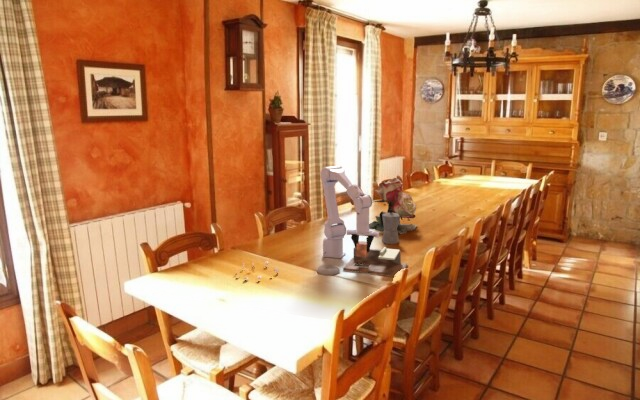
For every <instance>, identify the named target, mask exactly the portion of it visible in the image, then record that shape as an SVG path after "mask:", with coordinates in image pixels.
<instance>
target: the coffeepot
mask: <svg viewBox="0 0 640 400" xmlns="http://www.w3.org/2000/svg"><path fill="white" fill-rule="evenodd" d="M379 216H380V220H381V224H382V226H383V227H384V231H382V232H383V233H382V236H381V242H382V243H383V244H385V245H396V244H399V242H400V239H399V233H398V231H397V227H398V223H399V219H400V220H401V217H400V215H399V214H397V213H392V209H390V213H387V212H386V211H380V213H379Z"/></svg>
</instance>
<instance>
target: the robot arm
mask: <svg viewBox="0 0 640 400" xmlns="http://www.w3.org/2000/svg"><path fill="white" fill-rule="evenodd" d="M320 180H321V185H322V187H323V193H324V199H325V200H324V201H325V207H326V212H327V213H326V214H327V220H326V221H325V222H324V224H323V225H324V230H323V231H324V232H323V233H324V236H325V237H323V241H322V257H324V258H332V259H333V258H334V259H342V258H343V257H344V255H346V252H343V251H344V246H343V245H344V242H343V241H344V240H343V239H344V238H345V236H350V239H351V241H352V243H353V246H354V247H355V249H356V247H357V243H358V242H359V241H360V240H359V239H360V237H361V236H362V237H366V239H365V240H366V242H367V252H369V250H370V249H371V245H372V243H373V240H374V238H377V239H378V238H379V237H380V231H373V230H370V229H369V224H370V208H371V207H372V205H373V199H372V197H371V195H370V194H366V193H364V192H363V191H362V189H361V188H359V186H358V184H353V183H352V182H351V181H350V179H349V178H348V176H347V174H346V173H345V169H344V168H343V166H341V165H335V166H334V165H333V166H323V167H322V168H321V171H320ZM337 183H340V185H342V186H343V187H344V189H346V194H347V195H348V197H349V198H350V199H351V200H352V201H353V206H354V208H355V209H354V210H355V213H356V222H355V223H356V227H355V228H356V229H347V228H346V227H347V226H346V225H345V221H344V220H343V219H341V218H340V216H339V209H338V208H339V207H338V202H337V194H336V189H335V185H336V184H337Z"/></svg>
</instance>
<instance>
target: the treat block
mask: <svg viewBox="0 0 640 400" xmlns="http://www.w3.org/2000/svg"><path fill="white" fill-rule="evenodd" d="M368 255H369V252H367V241H362V240H359V242H358V243H357V247H356V257H365V258H366V257H367V256H368Z"/></svg>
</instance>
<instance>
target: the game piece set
mask: <svg viewBox="0 0 640 400" xmlns="http://www.w3.org/2000/svg"><path fill="white" fill-rule="evenodd" d="M253 265H255V264H254V262H253V261H252V266H253ZM265 265H268V266H269V265H270V264H269V261H267V260H266V261H265V262H264V266H265ZM243 267H244V268H245V263H244V262H242V268H243ZM274 269H275V270H274V272H275V273H276V272H277V273H278V274H279V268H278V267H276V268H274ZM235 270H236V271H237V270H238V271H239V268H235ZM238 275H239V273H238V274H237V273H236V276H238ZM256 278H257V280H258V279H260V280H261V279H262V275H257V277H256ZM244 279H249V277H247V276H246V275H245V276H244V278H243V280H244Z"/></svg>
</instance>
